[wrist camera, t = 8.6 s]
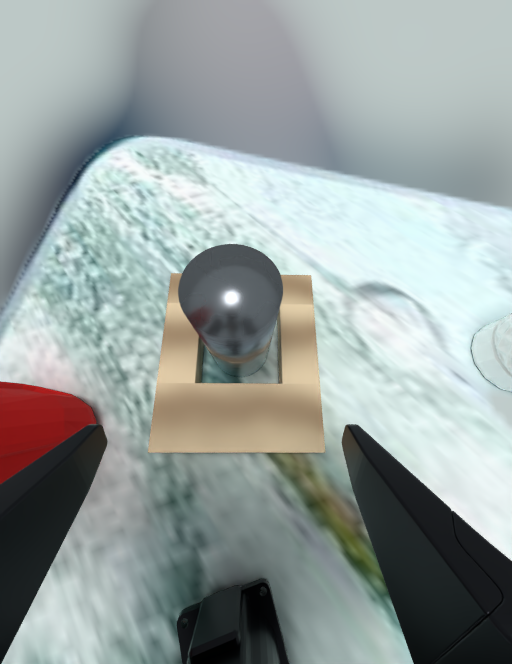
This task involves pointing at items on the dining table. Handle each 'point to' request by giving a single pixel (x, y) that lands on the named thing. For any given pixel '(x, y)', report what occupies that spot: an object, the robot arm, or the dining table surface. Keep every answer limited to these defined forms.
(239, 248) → the pin
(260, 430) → the slot board
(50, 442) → the water bottle
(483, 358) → the white cup
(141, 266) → the dining table surface
